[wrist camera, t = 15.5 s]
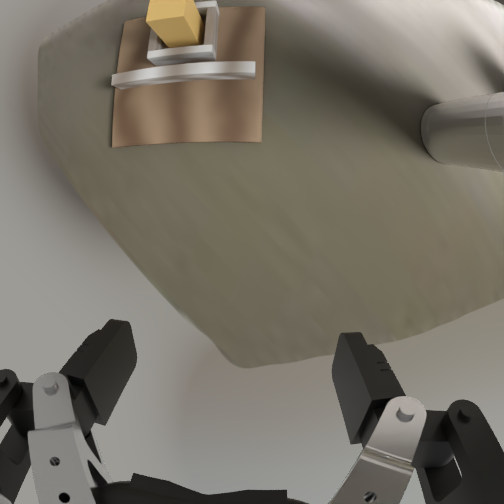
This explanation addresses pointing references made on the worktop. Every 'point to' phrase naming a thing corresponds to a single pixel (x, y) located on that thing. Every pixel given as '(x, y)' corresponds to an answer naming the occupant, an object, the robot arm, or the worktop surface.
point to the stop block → (176, 22)
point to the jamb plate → (192, 82)
